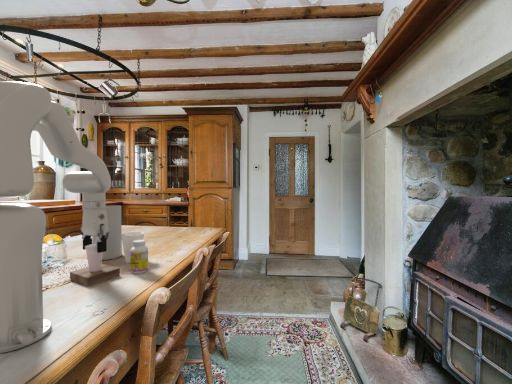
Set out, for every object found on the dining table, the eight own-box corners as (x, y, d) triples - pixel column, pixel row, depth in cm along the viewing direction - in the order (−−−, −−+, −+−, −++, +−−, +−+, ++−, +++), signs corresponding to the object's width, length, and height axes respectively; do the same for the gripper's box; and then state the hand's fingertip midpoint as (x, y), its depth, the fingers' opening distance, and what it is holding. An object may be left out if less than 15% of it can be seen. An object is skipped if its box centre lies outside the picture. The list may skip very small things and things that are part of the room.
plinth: (119, 275, 102) (119, 268, 102) (87, 286, 92) (87, 277, 92) (102, 270, 108) (102, 263, 108) (70, 279, 98) (69, 272, 97)
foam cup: (119, 260, 122) (119, 233, 122) (140, 257, 128) (139, 231, 128) (125, 265, 115) (125, 236, 115) (146, 261, 121) (146, 233, 121)
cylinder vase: (127, 255, 130) (126, 206, 130) (101, 262, 120) (100, 208, 119) (112, 252, 137) (112, 205, 136) (87, 258, 126) (86, 207, 125)
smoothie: (96, 273, 96) (95, 236, 95) (81, 272, 97) (80, 235, 97) (108, 268, 102) (108, 232, 102) (94, 267, 103) (93, 232, 103)
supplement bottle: (126, 272, 106) (126, 241, 105) (140, 268, 112) (140, 238, 111) (137, 275, 103) (137, 243, 102) (151, 270, 109) (151, 240, 108)
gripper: (117, 206, 98) (117, 251, 98) (91, 204, 106) (92, 246, 107) (97, 207, 91) (97, 255, 92) (71, 205, 100) (71, 249, 100)
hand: (94, 250), depth 99 cm, fingers open, 9 cm apart
